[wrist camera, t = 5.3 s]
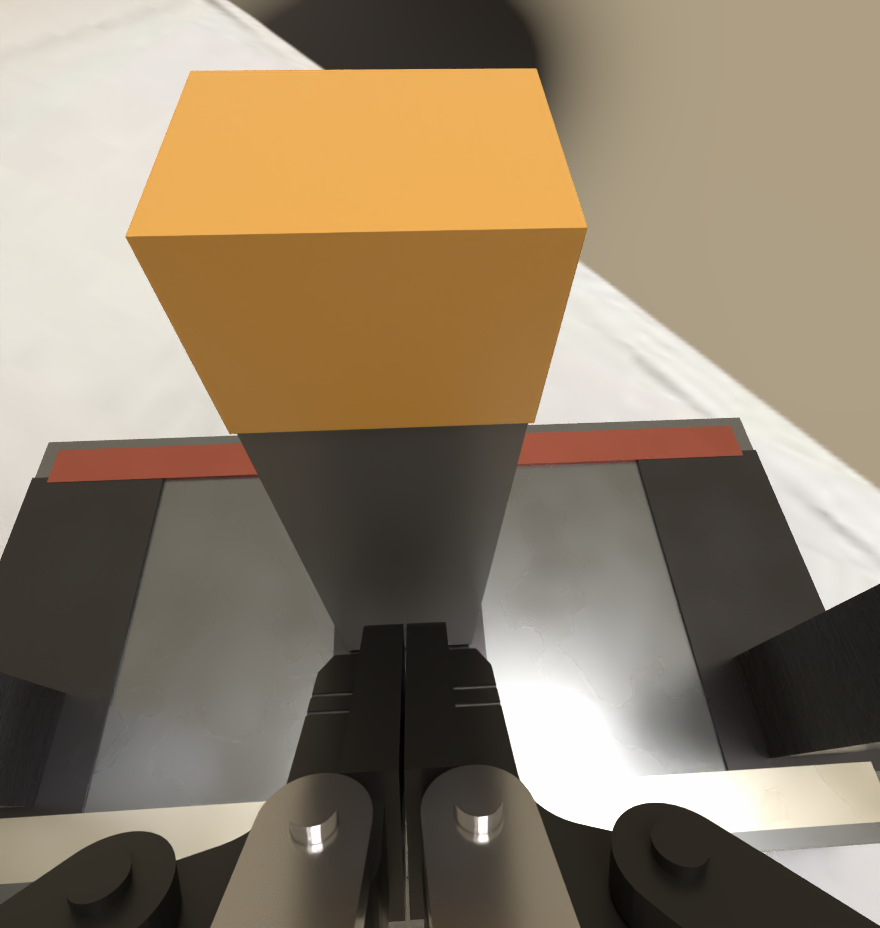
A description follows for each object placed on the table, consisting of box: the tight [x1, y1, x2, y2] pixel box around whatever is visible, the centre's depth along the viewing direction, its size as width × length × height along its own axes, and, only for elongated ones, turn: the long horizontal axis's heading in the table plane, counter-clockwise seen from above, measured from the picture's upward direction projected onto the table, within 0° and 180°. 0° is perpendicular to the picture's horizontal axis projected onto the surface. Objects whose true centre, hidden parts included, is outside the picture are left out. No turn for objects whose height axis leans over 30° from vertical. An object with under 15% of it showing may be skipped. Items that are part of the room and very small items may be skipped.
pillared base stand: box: [0, 418, 880, 904], centre depth 11 cm, size 12×23×15 cm, turn 93°
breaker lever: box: [125, 69, 587, 651], centre depth 10 cm, size 2×3×12 cm
